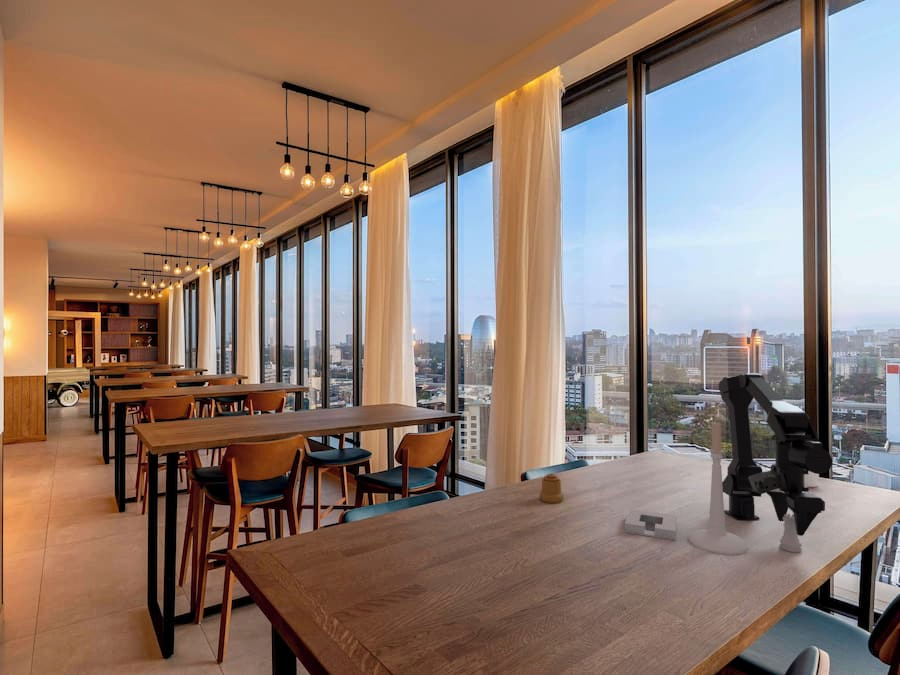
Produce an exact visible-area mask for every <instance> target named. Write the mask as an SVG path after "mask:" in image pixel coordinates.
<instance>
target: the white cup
mask: <svg viewBox="0 0 900 675" xmlns="http://www.w3.org/2000/svg"><path fill="white" fill-rule="evenodd" d="M819 477H820V474H816V473H813V472H810V471H808V474H804V482H805V486H806V487H808V488H816V487H818V486H819Z"/></svg>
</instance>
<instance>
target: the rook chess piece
mask: <svg viewBox="0 0 900 675" xmlns="http://www.w3.org/2000/svg"><path fill="white" fill-rule="evenodd" d="M782 519H783V520H784V521H783V522H784V524H783V526H784V530H783V535H782V536H781V538H780V540H779V542H780V544H779V547H780V548H781V549H782V550H783V551H786V552H789V553H800V552H802V550H803V549H802V548H801V547H802V543H801V542H800V539H799V537H798V536H799V535H797V532H796V526H795V520H794V514H790V513H787V514H784V517H783V518H782Z"/></svg>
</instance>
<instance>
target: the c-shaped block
mask: <svg viewBox="0 0 900 675" xmlns="http://www.w3.org/2000/svg"><path fill="white" fill-rule="evenodd" d="M677 522H678V521H677V515H675V514H669V513H668V514H667V513H659V512H653V511H646V510H639V509H631V508H630V509H629V510H628V513H627V516H626V519H625V522H624V533H627V534H632V535H637V536H638V535H639V536H644V535H645V537H650V536H651V538H656V537H657V539H662V540H668V541H676V540H677V526H678V524H677Z"/></svg>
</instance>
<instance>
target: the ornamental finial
mask: <svg viewBox="0 0 900 675" xmlns="http://www.w3.org/2000/svg"><path fill="white" fill-rule="evenodd" d="M539 492H540V493H539V499H540V500H541V502H544V503H546V504H559V503H561V502H563V500H564V499H565V496H564V494H563V491H562V482H561V479H560V478H559V476H557V475H556V474H555V473H548V474H546V475H545V476H544V477H543V478H542V479H541V491H539Z"/></svg>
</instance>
